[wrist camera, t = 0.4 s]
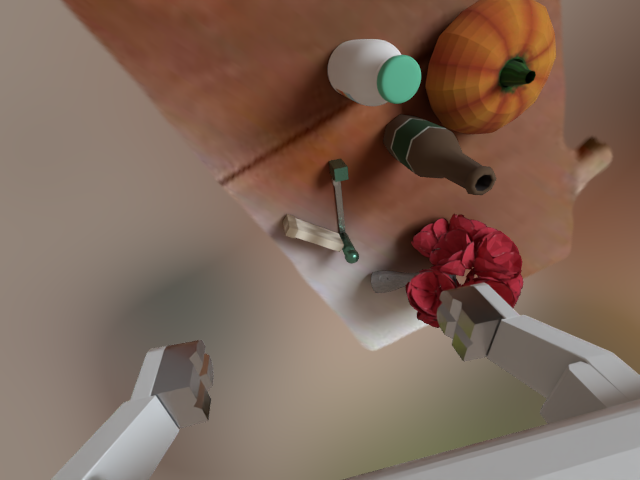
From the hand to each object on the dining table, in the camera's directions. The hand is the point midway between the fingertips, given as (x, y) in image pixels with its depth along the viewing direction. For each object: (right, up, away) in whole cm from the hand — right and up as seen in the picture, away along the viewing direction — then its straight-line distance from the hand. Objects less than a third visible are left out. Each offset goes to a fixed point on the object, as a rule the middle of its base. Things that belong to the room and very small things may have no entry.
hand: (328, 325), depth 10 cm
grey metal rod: (+4, +10, +51) cm, 52 cm away
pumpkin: (+25, +33, +41) cm, 58 cm away
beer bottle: (+15, +23, +45) cm, 53 cm away
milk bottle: (+4, +31, +38) cm, 49 cm away
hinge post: (+5, +3, +55) cm, 56 cm away
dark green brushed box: (+3, +17, +46) cm, 49 cm away
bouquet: (+24, +1, +62) cm, 66 cm away
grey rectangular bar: (-2, +5, +52) cm, 52 cm away
